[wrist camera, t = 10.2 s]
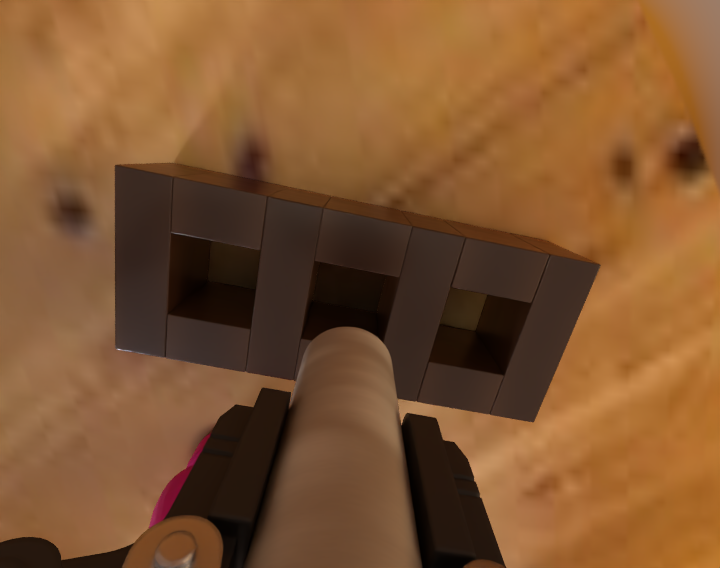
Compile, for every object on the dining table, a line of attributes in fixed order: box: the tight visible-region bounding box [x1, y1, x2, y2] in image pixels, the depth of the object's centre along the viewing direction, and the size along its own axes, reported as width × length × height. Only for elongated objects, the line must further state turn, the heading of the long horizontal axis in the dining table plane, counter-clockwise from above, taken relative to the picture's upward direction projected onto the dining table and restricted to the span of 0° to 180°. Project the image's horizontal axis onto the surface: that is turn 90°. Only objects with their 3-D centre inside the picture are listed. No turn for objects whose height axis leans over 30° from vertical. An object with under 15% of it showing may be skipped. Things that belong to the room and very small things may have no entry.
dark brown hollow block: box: [115, 163, 600, 422], centre depth 20 cm, size 21×9×5 cm, turn 78°
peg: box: [243, 327, 423, 568], centre depth 7 cm, size 3×3×11 cm
